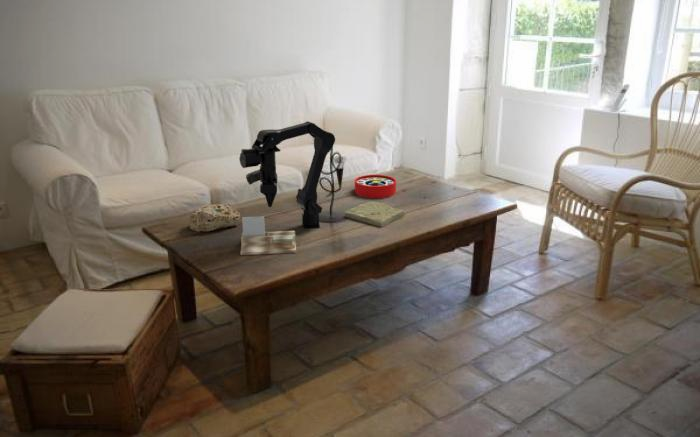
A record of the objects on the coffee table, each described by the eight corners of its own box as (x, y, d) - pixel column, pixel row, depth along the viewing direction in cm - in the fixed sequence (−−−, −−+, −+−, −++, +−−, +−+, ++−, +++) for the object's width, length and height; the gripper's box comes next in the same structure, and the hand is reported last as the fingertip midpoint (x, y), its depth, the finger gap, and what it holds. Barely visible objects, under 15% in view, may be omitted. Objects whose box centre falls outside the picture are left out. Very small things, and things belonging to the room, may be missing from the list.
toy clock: (375, 172, 290) (404, 180, 276) (375, 183, 292) (404, 192, 278) (346, 180, 277) (375, 189, 264) (346, 191, 280) (374, 201, 266)
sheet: (265, 241, 218) (264, 216, 214) (265, 242, 216) (263, 217, 213) (244, 241, 217) (242, 217, 214) (243, 243, 216) (242, 218, 212)
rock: (229, 217, 248) (232, 197, 244) (243, 234, 238) (247, 214, 234) (182, 222, 236) (185, 201, 231) (196, 241, 226) (198, 219, 222)
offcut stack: (294, 243, 215) (294, 234, 214) (295, 248, 211) (294, 239, 210) (270, 245, 214) (270, 236, 213) (270, 249, 211) (269, 240, 209)
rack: (295, 237, 223) (294, 228, 222) (296, 252, 210) (295, 242, 209) (243, 240, 221) (242, 230, 220) (240, 255, 208) (239, 244, 207)
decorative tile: (381, 228, 234) (381, 220, 233) (344, 217, 246) (343, 209, 245) (407, 216, 247) (407, 208, 246) (370, 206, 259) (370, 199, 258)
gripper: (247, 158, 225) (250, 196, 230) (245, 171, 208) (247, 212, 213) (276, 157, 226) (278, 195, 231) (276, 170, 209) (278, 210, 214)
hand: (270, 203), depth 222 cm, fingers open, 9 cm apart
